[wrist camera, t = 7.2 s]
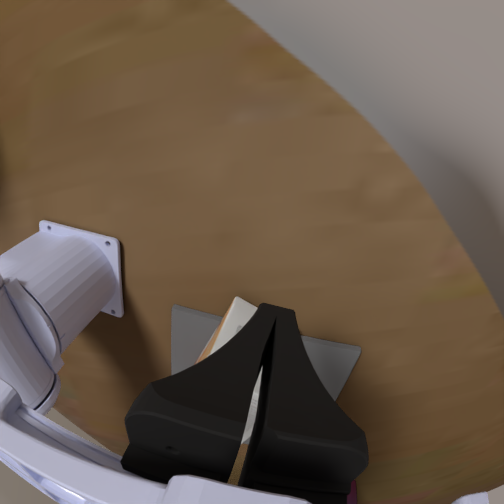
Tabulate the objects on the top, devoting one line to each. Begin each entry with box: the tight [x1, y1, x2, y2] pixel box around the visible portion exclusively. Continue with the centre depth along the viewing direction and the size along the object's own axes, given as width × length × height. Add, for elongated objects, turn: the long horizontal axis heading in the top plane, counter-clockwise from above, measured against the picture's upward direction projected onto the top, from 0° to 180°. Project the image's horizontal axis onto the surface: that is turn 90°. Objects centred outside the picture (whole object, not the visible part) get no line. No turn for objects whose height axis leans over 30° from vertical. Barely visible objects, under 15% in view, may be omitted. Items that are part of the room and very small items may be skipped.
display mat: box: [171, 304, 361, 444], centre depth 29 cm, size 16×18×1 cm
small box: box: [194, 297, 262, 444], centre depth 23 cm, size 8×6×10 cm
